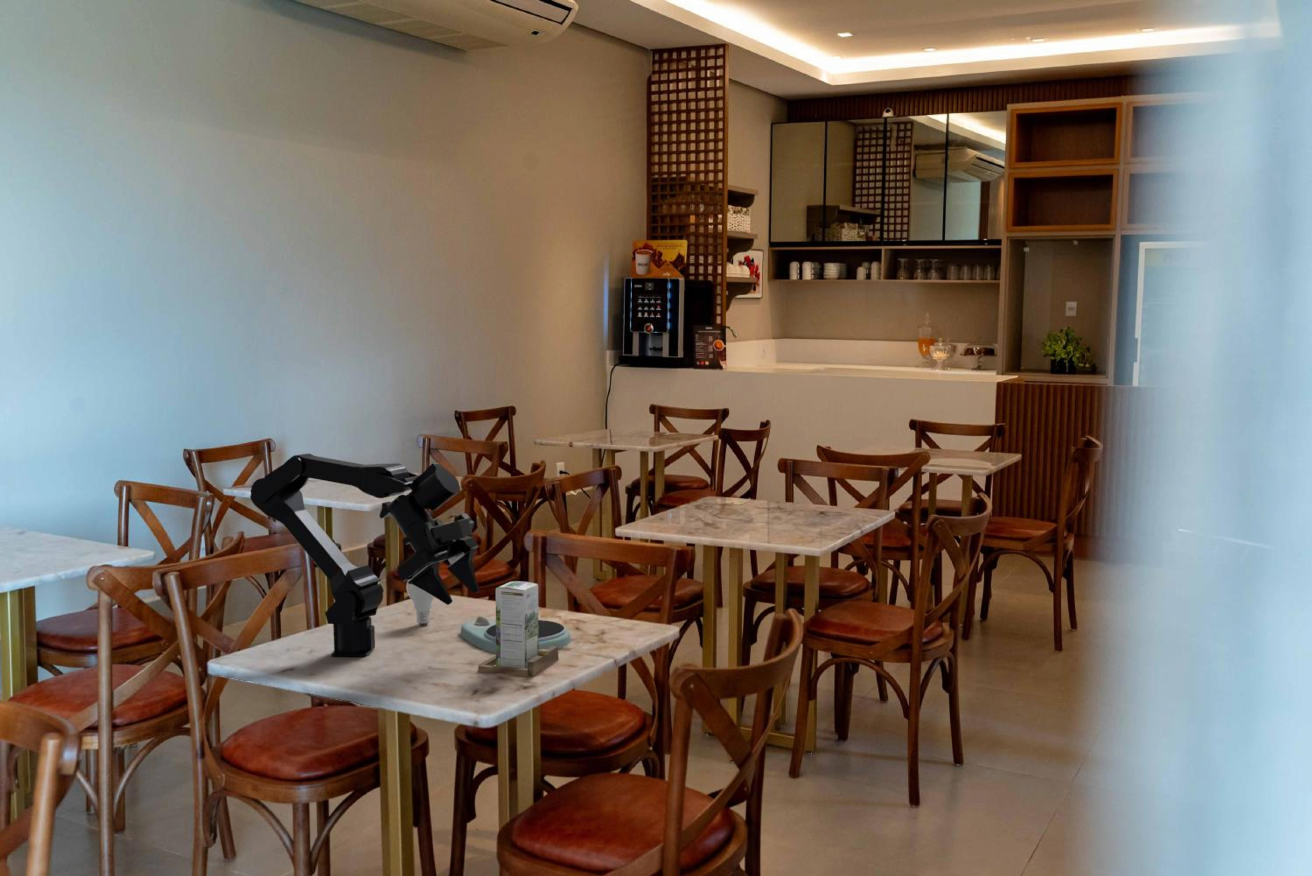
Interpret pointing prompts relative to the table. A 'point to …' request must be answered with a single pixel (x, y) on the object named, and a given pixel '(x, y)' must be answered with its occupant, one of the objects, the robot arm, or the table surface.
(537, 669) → the square wooden frame
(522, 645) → the syrup box
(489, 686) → the table surface
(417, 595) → the lightbulb
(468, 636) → the scale
